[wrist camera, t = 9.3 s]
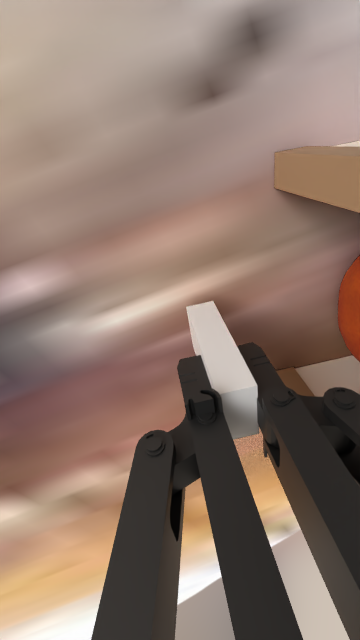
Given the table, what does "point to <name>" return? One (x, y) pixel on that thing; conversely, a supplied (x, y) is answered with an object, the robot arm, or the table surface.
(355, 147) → the frame
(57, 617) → the table surface
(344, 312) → the fruit
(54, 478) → the table surface
